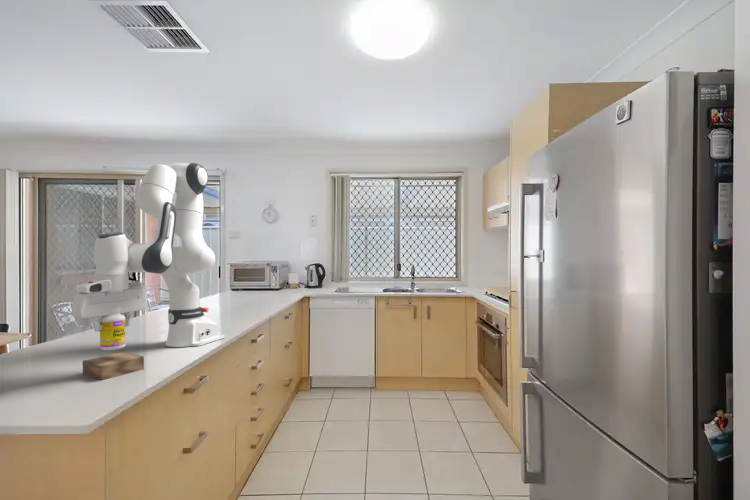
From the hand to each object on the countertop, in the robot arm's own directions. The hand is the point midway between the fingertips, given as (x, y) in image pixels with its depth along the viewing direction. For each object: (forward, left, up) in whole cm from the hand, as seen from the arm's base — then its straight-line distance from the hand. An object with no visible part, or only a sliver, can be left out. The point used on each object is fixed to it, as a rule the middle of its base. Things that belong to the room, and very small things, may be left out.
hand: (112, 328), depth 123 cm
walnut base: (0, 0, -13) cm, 13 cm away
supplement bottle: (0, 0, -6) cm, 6 cm away
